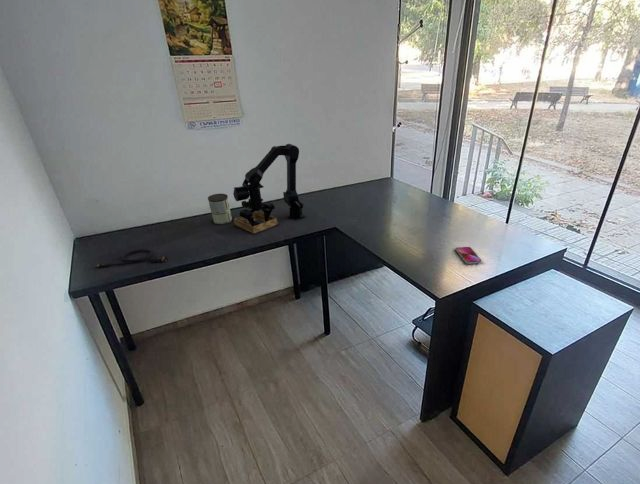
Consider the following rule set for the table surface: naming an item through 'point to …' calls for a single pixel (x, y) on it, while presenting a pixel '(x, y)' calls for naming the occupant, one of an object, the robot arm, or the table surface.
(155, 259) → the cable
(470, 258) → the smartphone
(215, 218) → the coffee can
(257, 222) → the tongs
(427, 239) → the table surface
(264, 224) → the brown wooden tray
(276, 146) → the robot arm
